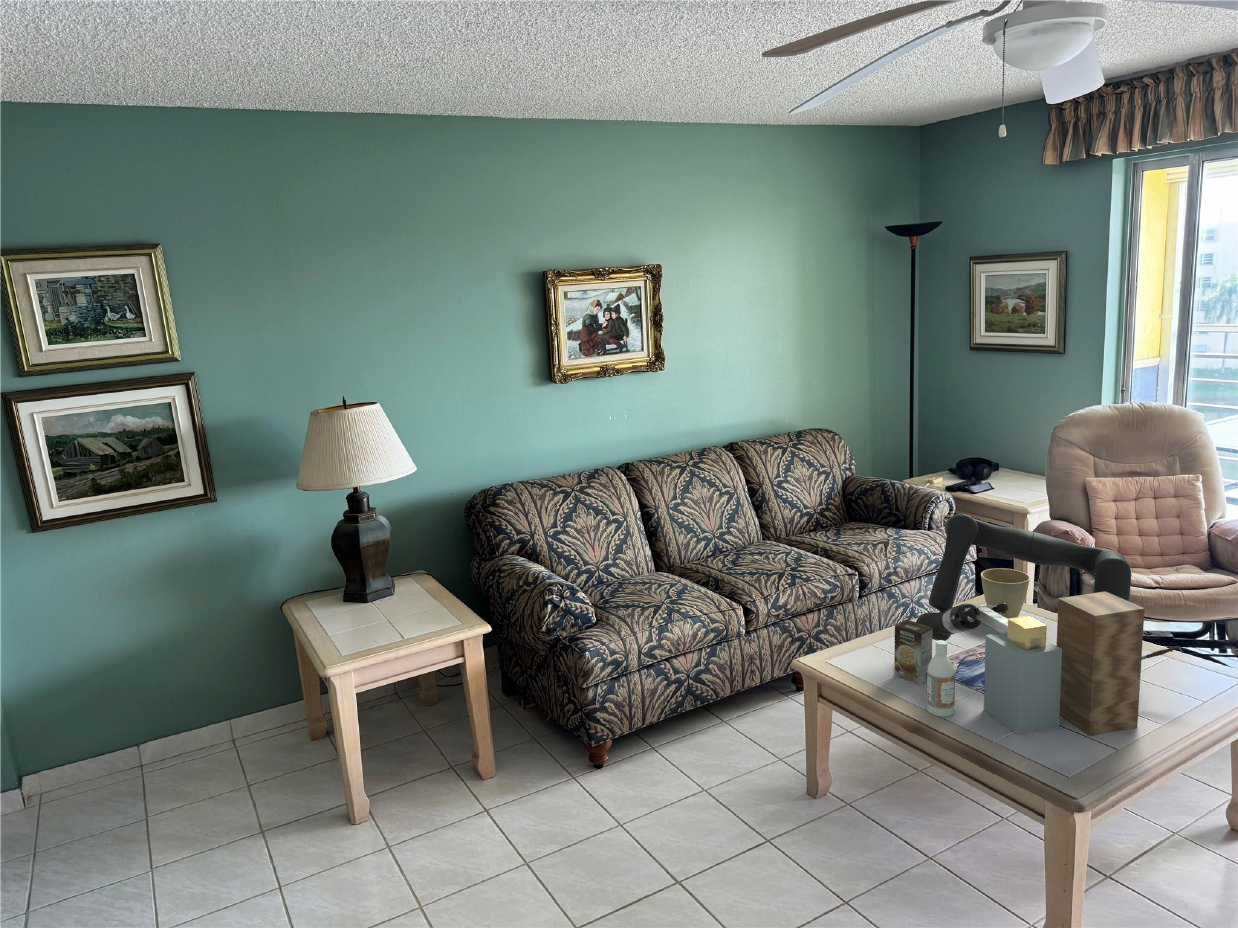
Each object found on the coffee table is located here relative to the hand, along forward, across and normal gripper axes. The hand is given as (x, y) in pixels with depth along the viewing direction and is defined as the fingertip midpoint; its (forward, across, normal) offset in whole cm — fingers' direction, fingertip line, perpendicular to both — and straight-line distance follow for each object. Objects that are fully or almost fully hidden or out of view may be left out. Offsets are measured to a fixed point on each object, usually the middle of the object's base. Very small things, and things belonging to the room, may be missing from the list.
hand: (992, 608), depth 238 cm
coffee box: (-29, -13, +14) cm, 34 cm away
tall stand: (+4, +17, +32) cm, 37 cm away
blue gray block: (-2, 0, +29) cm, 29 cm away
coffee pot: (-3, +36, +29) cm, 46 cm away
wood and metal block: (+3, 0, +7) cm, 8 cm away
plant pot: (-53, +37, 0) cm, 65 cm away
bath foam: (-10, -17, +24) cm, 31 cm away
